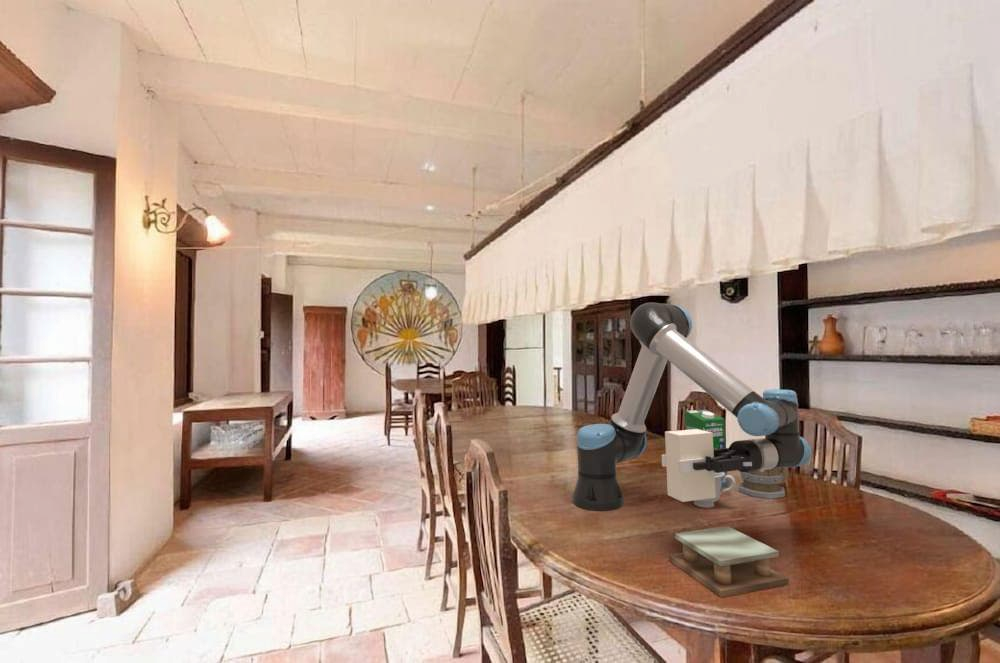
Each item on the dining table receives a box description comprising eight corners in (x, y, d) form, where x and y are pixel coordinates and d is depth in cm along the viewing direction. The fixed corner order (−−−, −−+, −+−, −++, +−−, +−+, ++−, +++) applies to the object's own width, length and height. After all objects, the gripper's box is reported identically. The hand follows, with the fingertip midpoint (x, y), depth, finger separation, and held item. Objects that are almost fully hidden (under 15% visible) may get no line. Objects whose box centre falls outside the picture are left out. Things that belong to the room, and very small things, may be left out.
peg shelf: (669, 560, 102) (668, 532, 102) (728, 550, 106) (727, 523, 106) (721, 597, 86) (719, 564, 87) (788, 584, 90) (787, 552, 91)
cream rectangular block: (667, 494, 109) (664, 431, 110) (699, 490, 111) (696, 429, 112) (682, 501, 103) (679, 435, 104) (715, 497, 106) (712, 432, 107)
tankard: (762, 500, 140) (759, 451, 140) (730, 488, 152) (729, 443, 152) (812, 493, 145) (810, 446, 146) (778, 483, 157) (776, 439, 158)
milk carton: (705, 488, 153) (702, 413, 154) (687, 481, 162) (684, 410, 163) (727, 485, 156) (724, 412, 157) (708, 478, 164) (705, 409, 165)
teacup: (732, 516, 127) (731, 480, 127) (677, 506, 136) (676, 472, 136) (740, 504, 137) (739, 470, 137) (688, 495, 146) (687, 464, 146)
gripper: (785, 480, 103) (698, 491, 97) (724, 462, 121) (648, 470, 115) (783, 447, 104) (697, 455, 98) (723, 433, 122) (647, 440, 115)
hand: (670, 463), depth 106 cm, fingers closed on cream rectangular block, 5 cm apart
